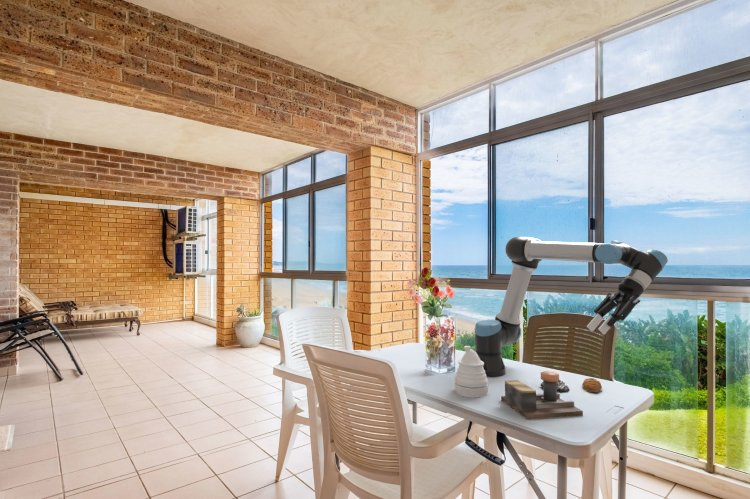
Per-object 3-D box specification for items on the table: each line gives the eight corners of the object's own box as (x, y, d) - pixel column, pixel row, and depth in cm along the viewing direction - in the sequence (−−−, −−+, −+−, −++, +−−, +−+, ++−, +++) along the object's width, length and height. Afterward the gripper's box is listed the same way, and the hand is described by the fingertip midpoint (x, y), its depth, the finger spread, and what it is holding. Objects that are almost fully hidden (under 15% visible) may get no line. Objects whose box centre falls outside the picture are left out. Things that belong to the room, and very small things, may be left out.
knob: (537, 399, 142) (537, 371, 143) (552, 398, 143) (552, 371, 144) (547, 405, 136) (547, 376, 137) (563, 404, 137) (562, 375, 138)
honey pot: (471, 399, 147) (471, 351, 148) (447, 390, 158) (447, 344, 159) (495, 393, 154) (494, 347, 155) (471, 384, 165) (470, 341, 165)
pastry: (603, 394, 153) (603, 384, 153) (584, 392, 155) (583, 383, 155) (600, 387, 161) (599, 378, 162) (581, 385, 164) (581, 376, 164)
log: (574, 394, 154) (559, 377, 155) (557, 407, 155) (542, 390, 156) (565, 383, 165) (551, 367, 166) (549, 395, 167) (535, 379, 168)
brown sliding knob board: (501, 400, 146) (500, 378, 147) (550, 397, 150) (550, 375, 150) (527, 419, 129) (527, 394, 129) (582, 415, 132) (582, 390, 132)
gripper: (662, 293, 138) (621, 342, 135) (621, 289, 156) (584, 333, 153) (648, 278, 137) (607, 327, 134) (609, 276, 155) (572, 319, 152)
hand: (595, 330), depth 143 cm, fingers open, 5 cm apart
